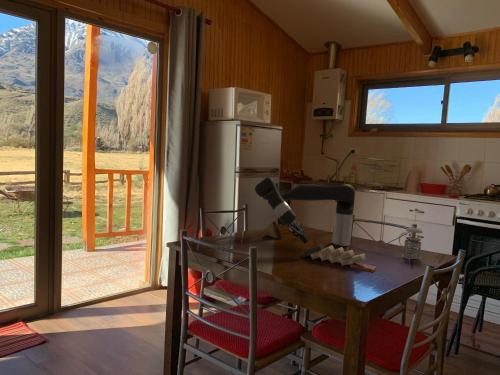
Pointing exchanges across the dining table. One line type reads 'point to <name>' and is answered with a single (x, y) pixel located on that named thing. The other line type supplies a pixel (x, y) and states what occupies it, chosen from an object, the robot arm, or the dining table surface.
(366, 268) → the domino
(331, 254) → the domino
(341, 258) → the domino
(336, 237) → the robot arm
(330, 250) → the domino
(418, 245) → the french press
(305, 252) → the domino
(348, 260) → the domino
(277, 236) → the rock
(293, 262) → the dining table surface
